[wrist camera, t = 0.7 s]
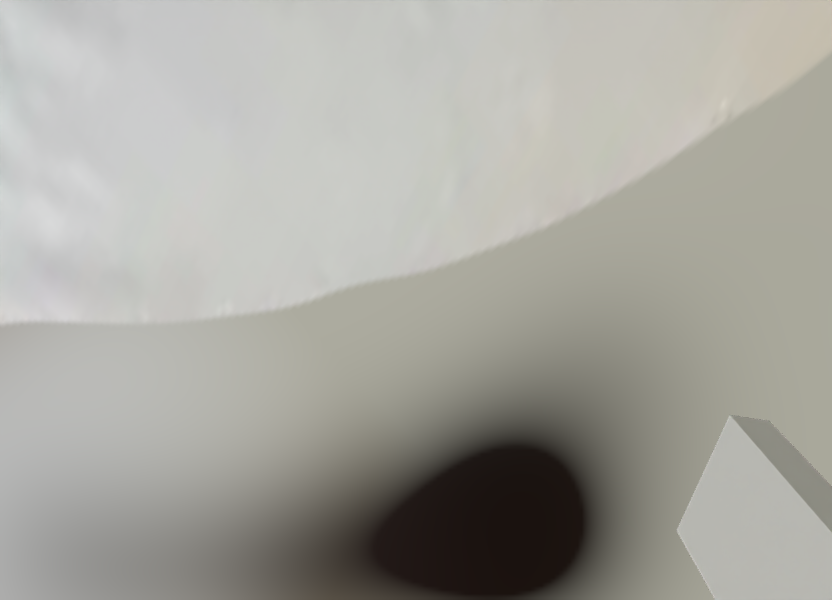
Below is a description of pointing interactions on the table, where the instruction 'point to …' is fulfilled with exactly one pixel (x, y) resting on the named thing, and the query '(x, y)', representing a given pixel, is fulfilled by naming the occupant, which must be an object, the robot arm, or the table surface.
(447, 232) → the table surface
